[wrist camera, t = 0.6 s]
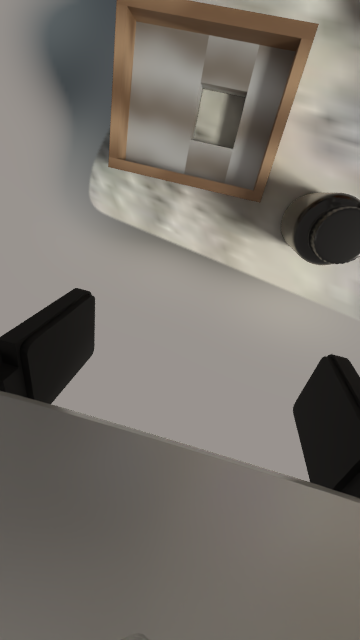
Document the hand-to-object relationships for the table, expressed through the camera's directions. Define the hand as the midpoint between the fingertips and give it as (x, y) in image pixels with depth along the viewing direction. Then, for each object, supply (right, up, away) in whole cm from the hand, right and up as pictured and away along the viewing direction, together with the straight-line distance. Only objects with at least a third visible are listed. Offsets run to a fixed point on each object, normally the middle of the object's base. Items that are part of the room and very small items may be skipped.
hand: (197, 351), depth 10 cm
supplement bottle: (+16, +14, +22) cm, 30 cm away
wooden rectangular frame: (+2, +25, +19) cm, 31 cm away
